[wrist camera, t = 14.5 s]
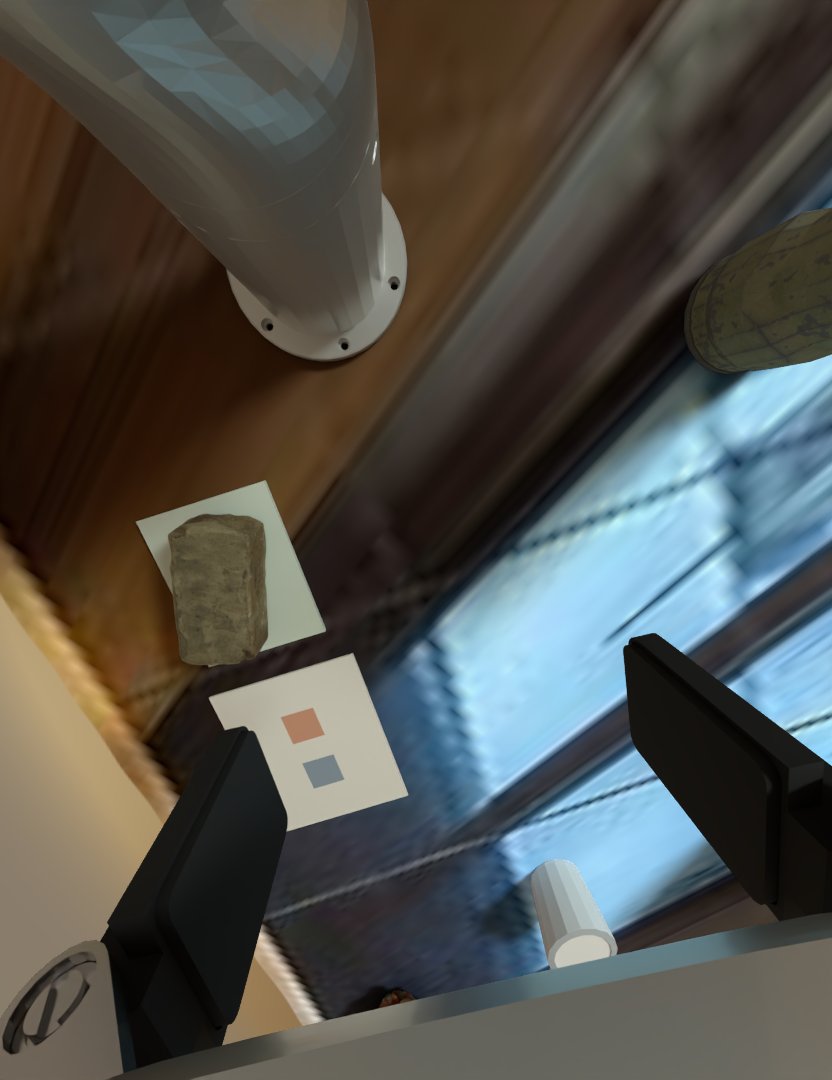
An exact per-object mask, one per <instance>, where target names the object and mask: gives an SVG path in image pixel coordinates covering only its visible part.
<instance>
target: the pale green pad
mask: <svg viewBox="0 0 832 1080" xmlns="http://www.w3.org/2000/svg"><path fill="white" fill-rule="evenodd" d="M201 514H213V515H223V514H232V515H236V516H250V517H252V518H255V519H257V520H259V521H261V522H262V523H263V525H264V531H265V537H266V559H265V569H266V578H265V584H266V592H267V616H268V638H267V641H266V642H265V643H264V645H263V646H262V649H261V650H260V651H263V650H267V649H270V648H273V647H276V646H280V645H283V644H286V643H289V642H293V641H296V640H299V639H302V638H306V637H309V636H312V635H315V634H319V633H322V632H325V631H326V628H325V626H324V623H323V621H322V618H321V616H320V613H319V611H318V608H317V606H316V603H315V601H314V598H313V596H312V593H311V591H310V589H309V586H308V584H307V581H306V579H305V576H304V574H303V571H302V569H301V566H300V564H299V561H298V559H297V556H296V554H295V551H294V549H293V547H292V544H291V542H290V539H289V537H288V534H287V532H286V529H285V527H284V524H283V522H282V519H281V517H280V514H279V512H278V509H277V507H276V505H275V502H274V500H273V497H272V495H271V492H270V490H269V487H268V485H267V482H266V480H265V481H262V482H259V483H256V484H253V485H249V486H246V487H243V488H240V489H237V490H234V491H231V492H228V493H224V494H221V495H218V496H215V497H212V498H209V499H206V500H202V501H199V502H196V503H193V504H190V505H187V506H184V507H180V508H177V509H174V510H171V511H168V512H165V513H162V514H158V515H155V516H152V517H149V518H146V519H143V520H140V521H136V523H137V525H138V527H139V529H140V531H141V533H142V535H143V537H144V539H145V541H146V543H147V545H148V547H149V549H150V551H151V553H152V555H153V557H154V559H155V561H156V563H157V565H158V567H159V569H160V571H161V573H162V575H163V577H164V579H165V581H166V583H167V585H168V587H169V589H170V591H171V593H172V595H173V592H172V581H171V574H170V564H171V550H170V545H169V541H168V534H169V533H171V532H172V531H173V530H174V529H176V528H178V527H179V526H180V525H182V524H183V523H184V522H186V521H187V520H188V519H190V518H194V517H196V516H198V515H201ZM260 651H259V652H260ZM208 666H209V667H212V666H211V665H208Z"/></svg>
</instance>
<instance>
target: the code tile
mask: <svg viewBox="0 0 832 1080" xmlns="http://www.w3.org/2000/svg"><path fill="white" fill-rule="evenodd" d="M209 700H210V702H211V704H212V706H213V708H214V710H215V712H216V713H217V715H218V717H219V719H220V721H221V723H222V725H223V727H224V729H225V730H227V729H232V728H236V727H240V726H245V727H246V728H248V730H249V731H251V730H252V731H254V732H255V733H256V735H257V738H258V740H259V743H260V746H261V748H262V751H263V753H264V756H265V758H266V761H267V763H268V766H269V768H270V771H271V774H272V776H273V779H274V781H275V784H276V786H277V789H278V791H279V794H280V796H281V799H282V802H283V804H284V807H285V809H286V812H287V817H288V826H287V831H290V830H293V829H296V828H300V827H303V826H307V825H310V824H313V823H317V822H320V821H324V820H327V819H330V818H334V817H337V816H340V815H344V814H347V813H351V812H354V811H357V810H361V809H364V808H367V807H371V806H374V805H378V804H381V803H384V802H388V801H391V800H395V799H398V798H401V797H405V796H408V792H407V789H406V787H405V784H404V782H403V779H402V777H401V774H400V772H399V769H398V766H397V764H396V761H395V759H394V756H393V754H392V751H391V749H390V746H389V743H388V741H387V738H386V736H385V733H384V731H383V728H382V726H381V723H380V721H379V718H378V715H377V713H376V710H375V708H374V705H373V703H372V700H371V698H370V695H369V692H368V690H367V687H366V685H365V682H364V680H363V677H362V675H361V672H360V670H359V667H358V664H357V662H356V659H355V657H354V654H353V653H351V654H348V655H344V656H341V657H338V658H335V659H331V660H328V661H325V662H321V663H318V664H315V665H312V666H308V667H305V668H302V669H299V670H295V671H292V672H289V673H286V674H282V675H279V676H276V677H272V678H269V679H266V680H263V681H259V682H256V683H253V684H250V685H246V686H243V687H240V688H236V689H233V690H230V691H227V692H223V693H220V694H217V695H214V696H210V697H209Z"/></svg>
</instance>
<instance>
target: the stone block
mask: <svg viewBox="0 0 832 1080" xmlns="http://www.w3.org/2000/svg"><path fill="white" fill-rule="evenodd" d="M168 541H169V545H170V550H171V564H170V574H171V581H172V592H173V603H174V614H175V623H176V629H177V635H178V642H179V654H180V658H181V660H182V661H184V662H186V663H188V664H192V665H211V666H215V665H220V664H238V663H240V662H241V661H242V660H247V659H253V658H255V657H256V655H257V654H258V652H259V651H260V650H261V649H262V646H263V645H264V643H265V642H266V641H267V638H268V616H267V592H266V584H265V578H266V569H265V559H266V537H265V531H264V525H263V523H262V522H261V521H259V520H257V519H255V518H252V517H250V516H236V515H232V514H223V515H213V514H201V515H198V516H196V517H194V518H190V519H188V520H187V521H186V522H184V523H183V524H182V525H180V526H179V527H178V528H176V529H174V530H173V531H172V532H171V533H169V534H168Z"/></svg>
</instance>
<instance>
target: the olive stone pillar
mask: <svg viewBox="0 0 832 1080" xmlns="http://www.w3.org/2000/svg"><path fill="white" fill-rule="evenodd" d="M684 333H685V337H686V341H687V345H688V349H689V350H690V352H691V353H692V355H693V356H694V358H695V359H696V360H697V362H698V363H700V364H701V365H703V366H704V367H705V368H707V369H708V370H710V371H713V372H718V373H722V374H731V373H739V372H745V371H749V370H750V371H758V370H766V369H773V368H779V367H784V366H790V365H795V364H801V363H806V362H811V361H814V360H817V359H820V358H823V357H825V356H828V355H831V354H832V208H828V209H821V210H814V211H808V212H804V213H800V214H799V215H797V216H795V217H793V218H791V219H790V220H788V221H786V222H784V223H782V224H780V225H779V226H777V227H775V228H773V229H771V230H770V231H768V232H766V233H764V234H762V235H761V236H759V237H757V238H755V239H753V240H751V241H750V242H748V243H746V244H745V245H743V246H742V247H741V248H740V249H739V250H738V251H737V252H736V253H734V254H731V255H729V256H727V257H725V258H723V259H721V260H720V261H718V262H716V263H715V264H714V265H713V266H712V267H711V268H710V269H709V270H707V271H706V272H705V273H704V274H703V275H702V276H701V278H700V279H699V281H698V283H697V284H696V286H695V287H694V289H693V290H692V292H691V294H690V297H689V300H688V304H687V307H686V310H685V318H684Z"/></svg>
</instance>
